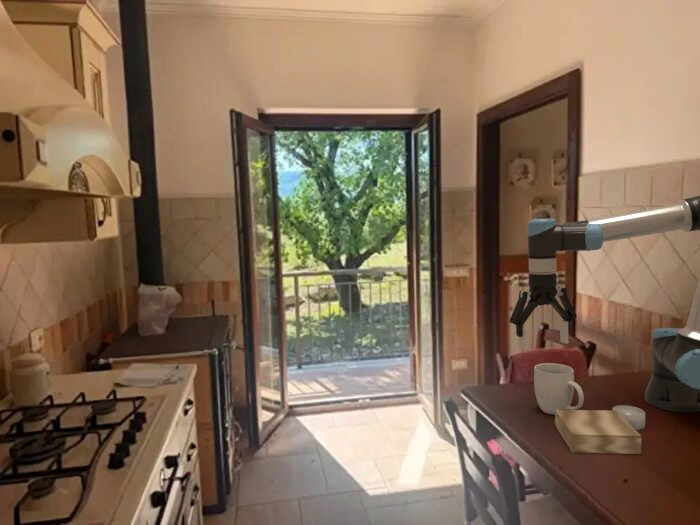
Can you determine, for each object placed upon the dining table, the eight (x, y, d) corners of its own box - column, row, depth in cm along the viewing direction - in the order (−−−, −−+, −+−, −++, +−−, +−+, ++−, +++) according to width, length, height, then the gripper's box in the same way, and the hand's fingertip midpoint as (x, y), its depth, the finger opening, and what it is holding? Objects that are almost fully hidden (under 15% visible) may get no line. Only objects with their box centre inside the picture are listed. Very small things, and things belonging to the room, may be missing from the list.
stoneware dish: (637, 419, 146) (637, 405, 146) (650, 430, 138) (650, 416, 138) (607, 418, 147) (608, 405, 147) (618, 430, 139) (619, 416, 139)
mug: (593, 416, 149) (594, 372, 148) (571, 425, 143) (571, 380, 141) (548, 401, 161) (548, 360, 160) (526, 409, 155) (526, 367, 154)
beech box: (615, 428, 141) (616, 410, 141) (641, 455, 125) (641, 435, 125) (555, 427, 143) (555, 409, 143) (572, 453, 127) (572, 434, 127)
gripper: (572, 268, 154) (573, 337, 156) (496, 274, 148) (498, 346, 150) (589, 270, 146) (589, 343, 148) (510, 277, 141) (511, 352, 143)
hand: (543, 345), depth 149 cm, fingers open, 13 cm apart
